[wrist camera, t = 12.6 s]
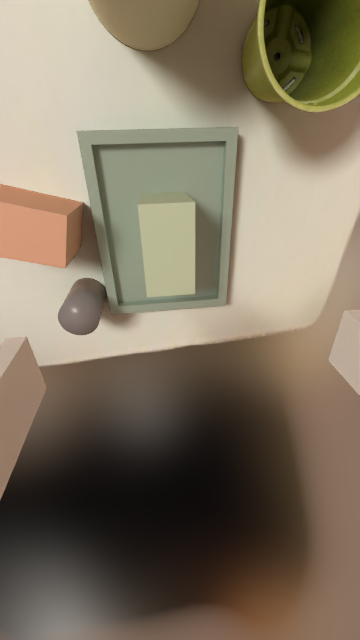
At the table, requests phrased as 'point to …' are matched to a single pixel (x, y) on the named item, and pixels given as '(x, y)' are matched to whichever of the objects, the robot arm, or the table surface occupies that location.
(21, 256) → the terracotta block
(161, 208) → the sage block
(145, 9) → the can
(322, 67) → the plant pot
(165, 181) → the tray
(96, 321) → the grey canister
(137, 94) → the table surface
